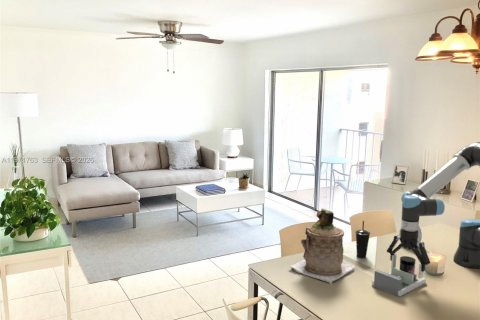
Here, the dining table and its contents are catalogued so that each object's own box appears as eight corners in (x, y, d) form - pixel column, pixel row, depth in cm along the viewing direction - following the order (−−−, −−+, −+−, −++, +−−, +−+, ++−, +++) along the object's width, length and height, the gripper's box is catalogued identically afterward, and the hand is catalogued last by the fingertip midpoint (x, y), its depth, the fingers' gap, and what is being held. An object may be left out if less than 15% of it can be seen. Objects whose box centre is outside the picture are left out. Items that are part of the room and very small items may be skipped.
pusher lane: (397, 273, 201) (398, 258, 200) (425, 283, 191) (426, 268, 190) (371, 285, 188) (372, 270, 187) (400, 297, 177) (401, 280, 176)
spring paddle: (392, 277, 195) (392, 267, 194) (412, 285, 187) (413, 274, 186) (386, 280, 192) (386, 270, 191) (406, 288, 184) (407, 277, 183)
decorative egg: (396, 240, 247) (398, 216, 245) (417, 241, 246) (419, 217, 244) (401, 248, 235) (403, 222, 233) (423, 249, 234) (425, 223, 232)
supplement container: (401, 282, 190) (402, 261, 188) (396, 276, 197) (398, 255, 195) (416, 283, 189) (417, 262, 188) (411, 277, 196) (412, 256, 194)
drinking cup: (369, 259, 218) (371, 223, 215) (354, 258, 219) (356, 222, 216) (368, 254, 225) (370, 219, 222) (353, 253, 227) (355, 218, 224)
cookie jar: (356, 269, 205) (360, 207, 201) (331, 285, 188) (334, 218, 183) (314, 256, 222) (316, 199, 217) (287, 270, 204) (289, 207, 199)
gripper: (380, 224, 196) (378, 265, 200) (432, 237, 177) (428, 284, 180) (389, 221, 201) (387, 262, 204) (440, 234, 182) (436, 279, 185)
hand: (406, 272), depth 192 cm, fingers open, 13 cm apart
